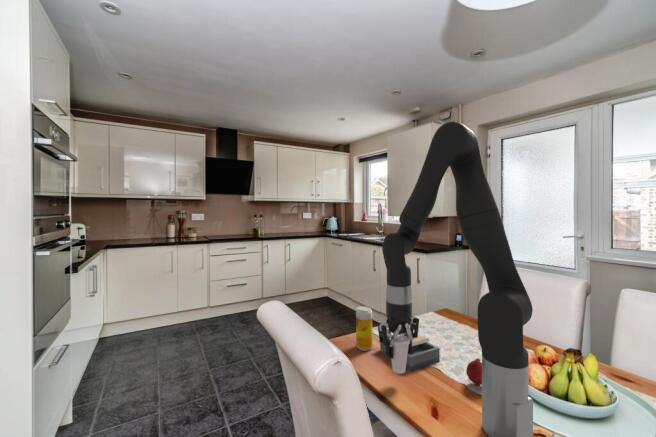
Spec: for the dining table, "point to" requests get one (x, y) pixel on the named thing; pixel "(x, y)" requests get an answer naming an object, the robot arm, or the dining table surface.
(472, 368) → the onion
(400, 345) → the smoothie
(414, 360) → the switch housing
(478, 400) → the dining table surface
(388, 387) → the dining table surface
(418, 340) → the plate
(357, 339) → the glass of beer
